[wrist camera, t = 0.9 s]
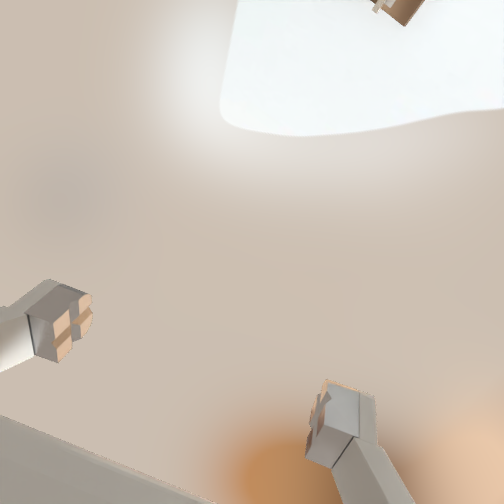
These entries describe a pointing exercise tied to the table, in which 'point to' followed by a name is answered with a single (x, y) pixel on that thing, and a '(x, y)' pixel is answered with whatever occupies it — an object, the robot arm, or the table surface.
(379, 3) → the brushed metal plate
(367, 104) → the table surface
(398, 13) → the base
